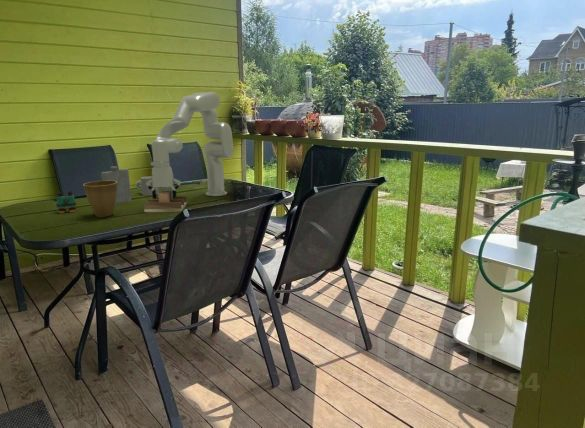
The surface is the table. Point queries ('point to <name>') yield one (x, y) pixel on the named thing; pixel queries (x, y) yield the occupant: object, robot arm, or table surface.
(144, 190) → the coffee mug
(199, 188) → the table surface
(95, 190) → the plant pot
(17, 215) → the table surface
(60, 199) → the binoculars
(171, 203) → the cream shelf rack
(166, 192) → the grey plug block
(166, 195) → the terracotta plug block
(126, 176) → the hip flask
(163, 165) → the robot arm
